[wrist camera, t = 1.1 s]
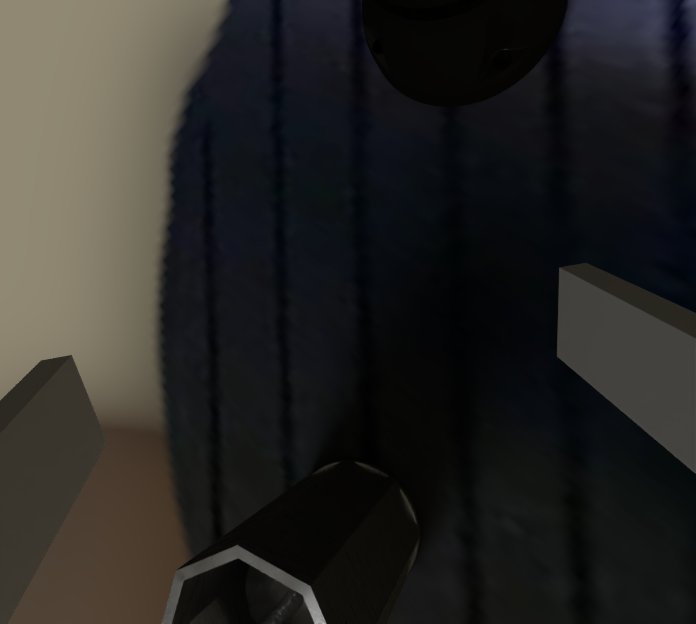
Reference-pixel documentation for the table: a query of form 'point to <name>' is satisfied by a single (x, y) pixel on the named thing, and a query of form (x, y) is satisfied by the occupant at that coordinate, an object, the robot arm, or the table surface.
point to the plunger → (274, 601)
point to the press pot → (311, 551)
